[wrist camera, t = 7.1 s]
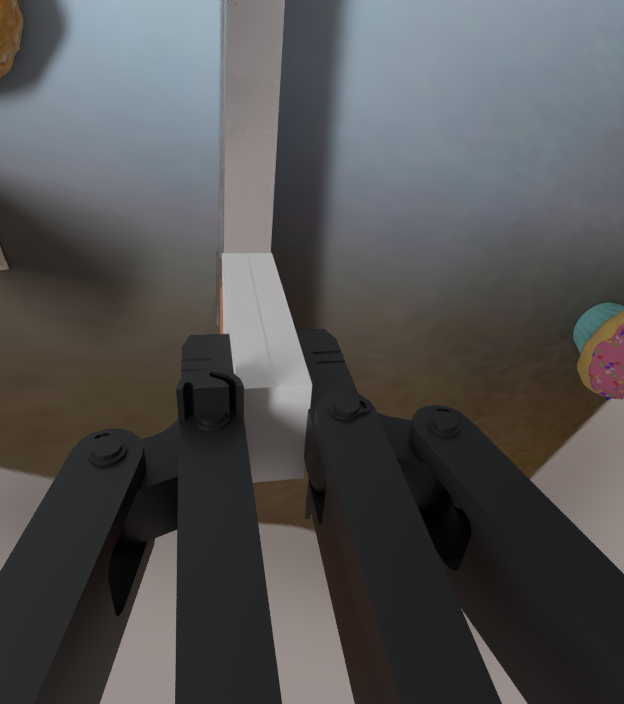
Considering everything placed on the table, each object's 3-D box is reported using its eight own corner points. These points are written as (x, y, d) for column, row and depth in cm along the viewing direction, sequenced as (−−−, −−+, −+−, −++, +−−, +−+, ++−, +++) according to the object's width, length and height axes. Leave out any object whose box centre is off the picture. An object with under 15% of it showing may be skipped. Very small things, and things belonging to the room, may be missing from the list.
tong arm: (295, -188, 24) (301, -198, 23) (265, 344, 38) (268, 355, 37) (221, -202, 23) (223, -214, 22) (218, 345, 37) (219, 356, 36)
